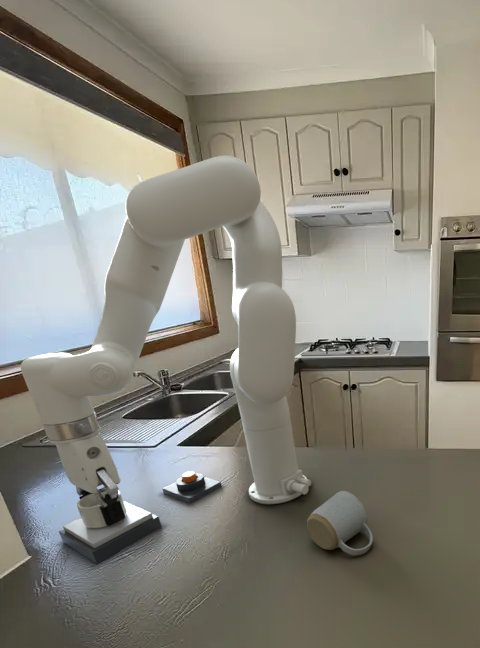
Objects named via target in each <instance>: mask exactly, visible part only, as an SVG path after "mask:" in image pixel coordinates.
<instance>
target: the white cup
mask: <svg viewBox="0 0 480 648" xmlns="http://www.w3.org/2000/svg"><path fill="white" fill-rule="evenodd" d="M118 493H119V498H120V503H121V505H122V508H123V511H124V514H126V508H125V505H124V502H123V501H124V499H123V497H122V494H121V491H120V490H119V491H118ZM101 494H102V496H103V498H104V497H105V495H106V494H107V490H106V491H104V492H101ZM100 506H102V505H101V504H100V502H99V500H98V499H97V497H96V495H95V493H91V494H89V495H87V496H85V497H83V498H82V499H80V498H79V500H78V501H77V502H76V508H77V510H78V512H79V515H80V518H82V520H83V523H84V525H85V526H86V527H89V528H102V527H106V526H107V525H106V523H105V521H104V518H103V515H102V513H101V510H100Z"/></svg>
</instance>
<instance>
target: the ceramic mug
mask: <svg viewBox="0 0 480 648" xmlns="http://www.w3.org/2000/svg"><path fill="white" fill-rule="evenodd" d="M367 524H368V514H367V511H366V509H365V506H364V505H363V503H362V502H361V501H360V500H359V499H358V498H357V497H356V496H355V495H354V494H353V493H351V492H350V491H346V490H340V491H337V492H336V493H335V494H334V495H332V496H331V497H330V498H329V499H328V500H326V501H325V502H323V503H322V504H321V505H319V506H318V507H317V508H316V509H314V510H313V512H311V513H310V514H309V516H308V518H307V519H306V528H307V529H306V530H307V532H308V534H309V536H310V538H311V539H312V540H313V542H314V543H315V544H316V545H317V546H318V547H320V548H321V549H324V550H327V551H333V550H335V549H338V548H339V549H341V551H343V552H344V553H346V554H349V556H350V555H351V556H361V555H364V554H366V553H367V552H368V551H369V550H370V549H371V547H372V545H373V542H374V538H373V534H372V532H371V529H370V528H369V527H368V525H367ZM361 531H363V532H364V534H365V535H366V536H367V538H368V544H367V545H365V546H364V547H361V548H353V547H351V546H348V544H346V542H347V541H349V540H351V539H352V538H353V537H354V536H356V535H357V534H358V533H361Z"/></svg>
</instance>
